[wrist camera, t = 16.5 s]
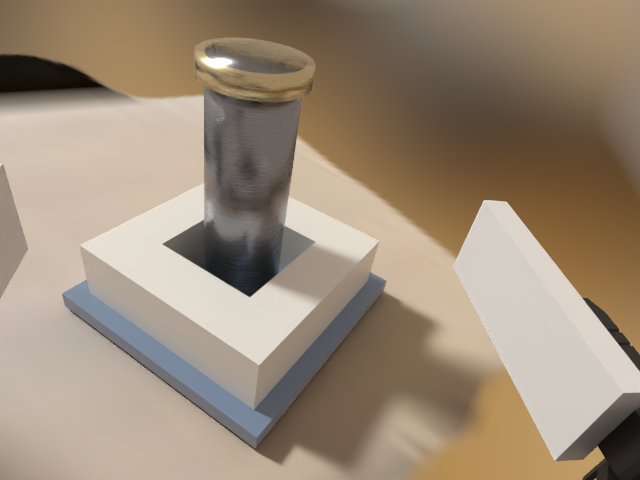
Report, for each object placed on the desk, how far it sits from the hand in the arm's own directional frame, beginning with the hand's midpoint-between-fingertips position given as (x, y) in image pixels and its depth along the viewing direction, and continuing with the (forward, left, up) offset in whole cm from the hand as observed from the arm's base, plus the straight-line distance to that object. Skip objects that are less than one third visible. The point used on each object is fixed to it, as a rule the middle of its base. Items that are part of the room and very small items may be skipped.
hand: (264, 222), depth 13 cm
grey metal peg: (-6, +7, -12) cm, 16 cm away
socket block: (-7, +7, -13) cm, 17 cm away
